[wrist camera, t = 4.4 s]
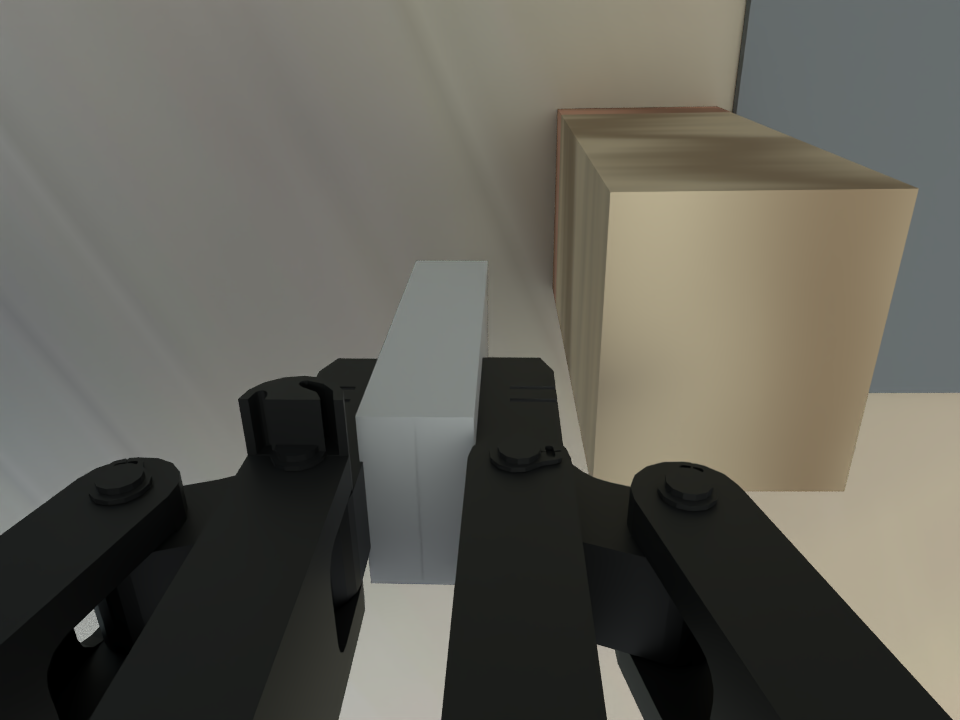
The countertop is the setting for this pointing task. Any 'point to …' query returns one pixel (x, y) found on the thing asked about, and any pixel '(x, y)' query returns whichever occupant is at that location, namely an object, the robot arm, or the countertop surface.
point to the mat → (877, 143)
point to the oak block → (720, 293)
